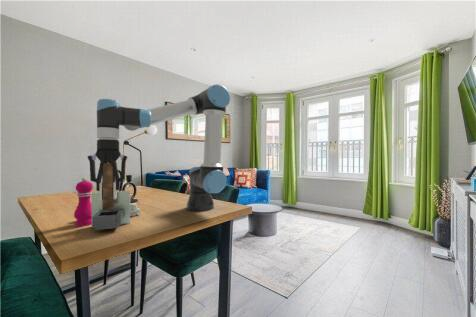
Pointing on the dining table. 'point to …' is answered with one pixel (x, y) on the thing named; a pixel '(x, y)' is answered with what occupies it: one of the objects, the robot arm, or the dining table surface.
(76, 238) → the dining table surface
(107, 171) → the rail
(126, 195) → the grey card holder
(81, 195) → the pepper mill
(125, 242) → the dining table surface
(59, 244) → the dining table surface
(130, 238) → the dining table surface
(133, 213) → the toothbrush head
